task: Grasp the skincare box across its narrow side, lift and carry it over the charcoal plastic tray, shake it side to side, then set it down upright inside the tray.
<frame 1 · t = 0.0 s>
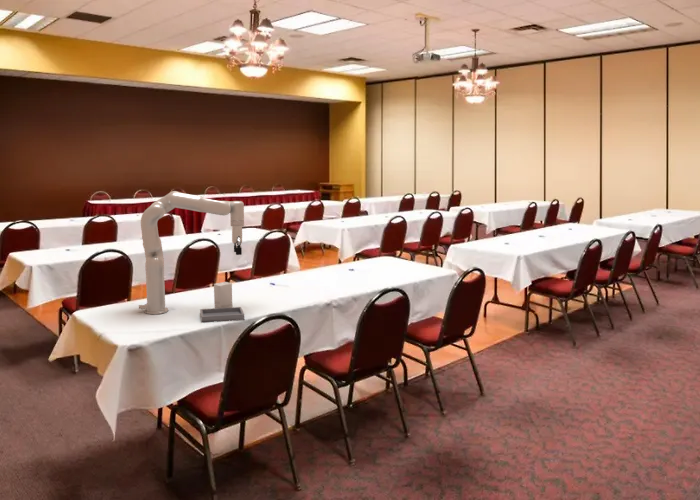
hand: (237, 253, 347), 31 cm above the table, tool pointing down, fingers open, 9 cm apart
skincare box: (223, 310, 344), on the table
tray: (222, 317, 330), on the table
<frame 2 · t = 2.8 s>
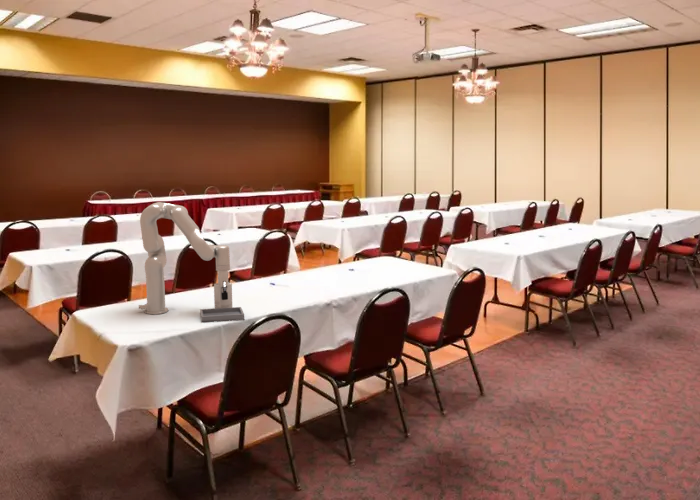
hand: (224, 297, 343), 7 cm above the table, tool pointing down, fingers open, 9 cm apart
nothing on the table moved.
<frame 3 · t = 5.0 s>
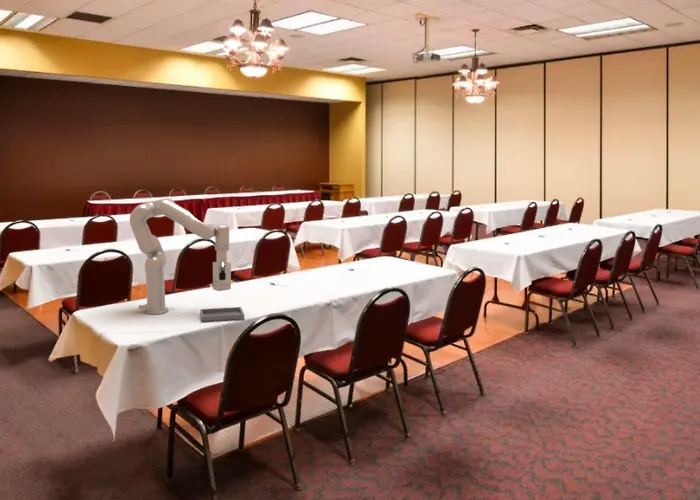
hand: (221, 278, 341), 19 cm above the table, tool pointing down, fingers closed on skincare box, 8 cm apart
skincare box: (221, 290, 342), point 12 cm above the table, touching gripper
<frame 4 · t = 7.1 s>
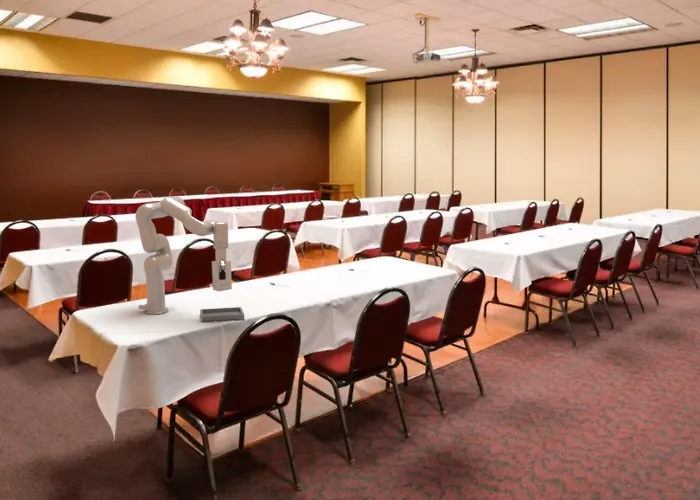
hand: (221, 277, 324), 22 cm above the table, tool pointing down, fingers closed on skincare box, 8 cm apart
skincare box: (222, 290, 325), point 16 cm above the table, touching gripper
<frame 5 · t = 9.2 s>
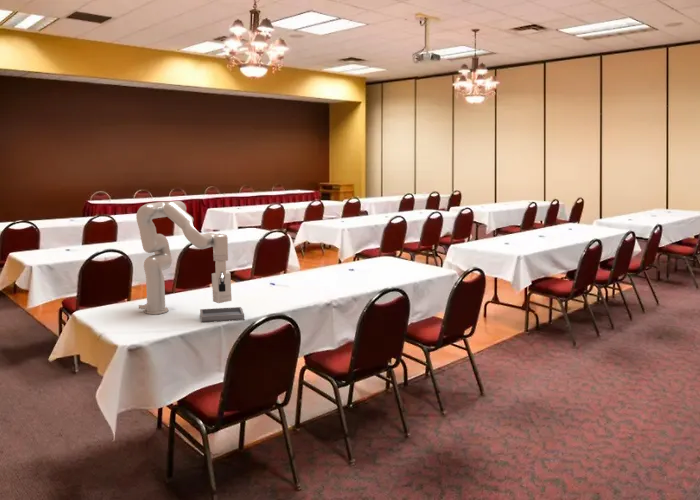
hand: (221, 289, 328), 15 cm above the table, tool pointing down, fingers closed on skincare box, 8 cm apart
skincare box: (222, 301, 329), point 9 cm above the table, touching gripper
when the fingers open (8 cm above the table, at t = 11.1 s): skincare box stays where it is, resting on tray.
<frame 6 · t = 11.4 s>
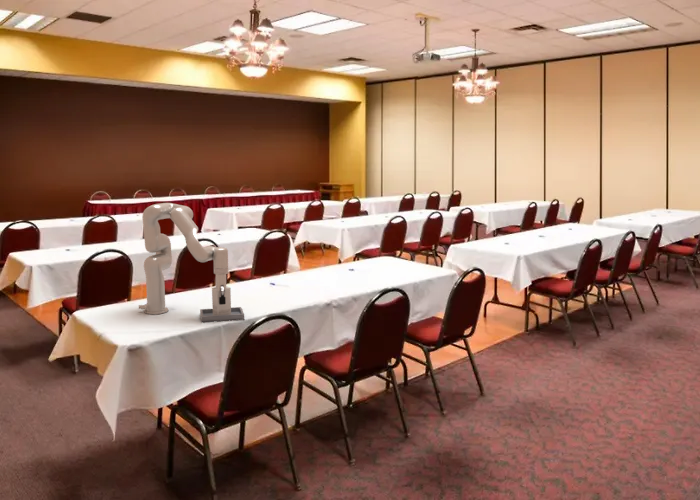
hand: (221, 302, 329), 8 cm above the table, tool pointing down, fingers open, 9 cm apart
skincare box: (222, 316, 330), point 1 cm above the table, touching tray
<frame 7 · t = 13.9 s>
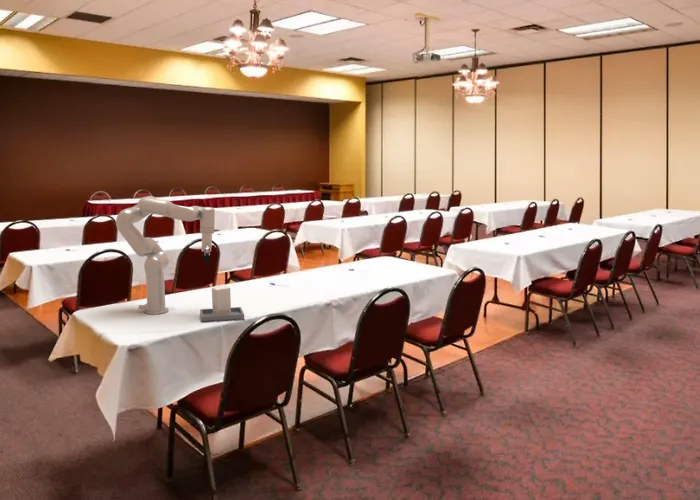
hand: (206, 261, 335), 29 cm above the table, tool pointing down, fingers open, 9 cm apart
nothing on the table moved.
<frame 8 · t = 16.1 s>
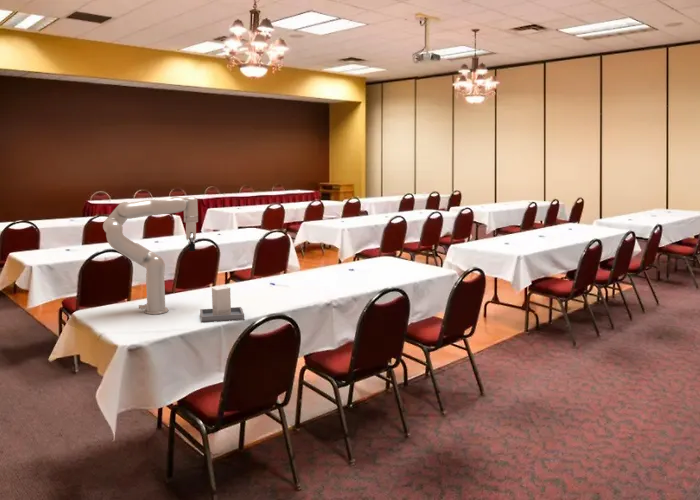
hand: (191, 249, 345), 33 cm above the table, tool pointing down, fingers open, 9 cm apart
nothing on the table moved.
at the end: skincare box inside the target area on the tray (0.2 cm from its centre), point 0.6 cm above the tray's base; skincare box tilted 0°; the gripper is holding nothing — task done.
